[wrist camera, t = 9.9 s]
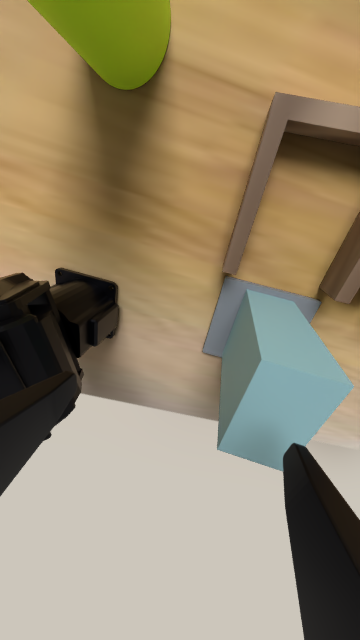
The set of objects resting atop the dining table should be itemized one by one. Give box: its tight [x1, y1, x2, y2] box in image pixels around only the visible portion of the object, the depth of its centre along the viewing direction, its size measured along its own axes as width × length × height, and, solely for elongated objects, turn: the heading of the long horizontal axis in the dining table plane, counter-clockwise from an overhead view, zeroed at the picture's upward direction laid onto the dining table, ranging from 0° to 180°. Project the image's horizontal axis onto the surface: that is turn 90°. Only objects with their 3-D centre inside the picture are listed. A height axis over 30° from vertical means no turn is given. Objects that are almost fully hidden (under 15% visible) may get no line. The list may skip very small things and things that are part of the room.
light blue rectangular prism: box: [217, 289, 354, 471], centre depth 15 cm, size 4×7×10 cm, turn 169°
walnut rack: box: [222, 92, 360, 304], centre depth 14 cm, size 14×10×3 cm
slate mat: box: [202, 276, 322, 358], centre depth 20 cm, size 8×8×1 cm
